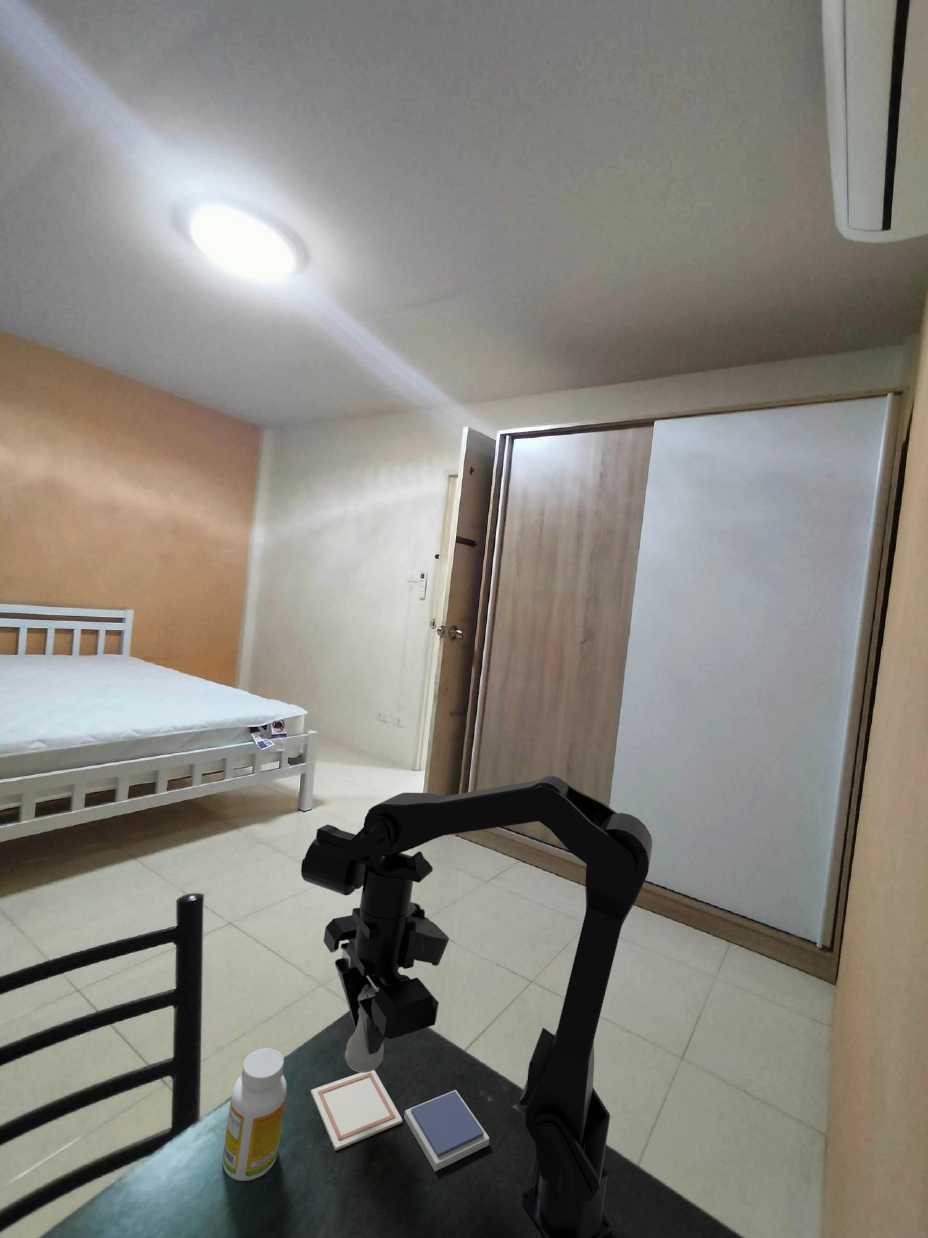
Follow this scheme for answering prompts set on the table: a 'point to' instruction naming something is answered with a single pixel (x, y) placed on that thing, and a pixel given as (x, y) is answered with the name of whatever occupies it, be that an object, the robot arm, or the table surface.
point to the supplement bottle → (255, 1116)
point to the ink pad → (446, 1129)
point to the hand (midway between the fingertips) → (366, 1041)
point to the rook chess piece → (362, 1043)
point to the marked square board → (355, 1108)
